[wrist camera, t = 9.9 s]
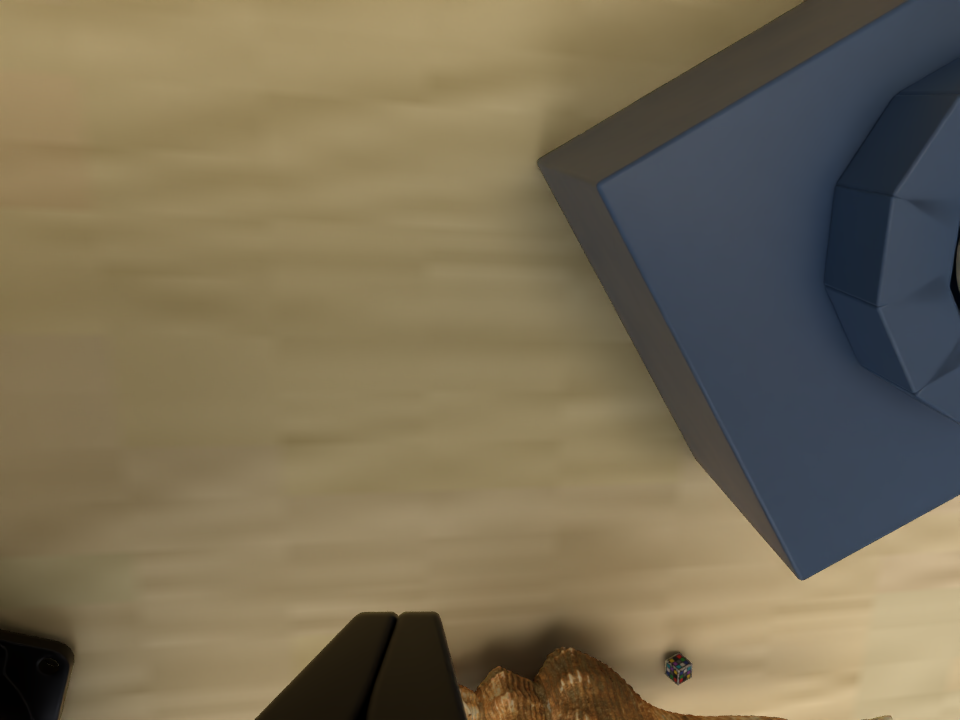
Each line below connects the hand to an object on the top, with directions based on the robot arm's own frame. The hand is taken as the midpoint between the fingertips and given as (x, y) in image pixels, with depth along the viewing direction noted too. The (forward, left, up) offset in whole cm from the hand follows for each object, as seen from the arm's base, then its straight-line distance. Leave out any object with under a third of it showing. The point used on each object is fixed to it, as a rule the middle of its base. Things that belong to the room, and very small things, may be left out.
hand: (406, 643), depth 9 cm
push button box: (+6, -9, -13) cm, 17 cm away
